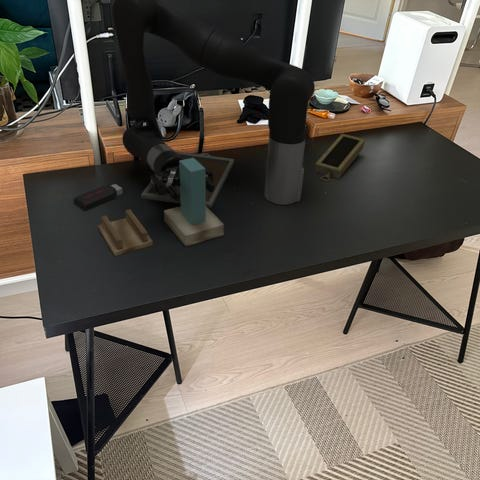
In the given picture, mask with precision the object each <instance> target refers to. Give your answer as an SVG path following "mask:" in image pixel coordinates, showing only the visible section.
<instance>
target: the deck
mask: <svg viewBox="0 0 480 480" xmlns="http://www.w3.org/2000/svg"><path fill="white" fill-rule="evenodd" d="M163 216H164V217H163V219H164V220H163V221H164V222H165V223H166V225H167V226H168V227H169V229H170V230H171V231H172V232H173V233H174V235H176V237H177V238H178V239H179V240H180V242H181V243H182V244H183V246H184V247H188V246H192V245H196V244H198V243H202V242H206V241H207V240H208V241H209V240H212V239H215V238H218V237H221V236H224V233H225V224H224V223H223V222H222V220H220V219H219V218H218V217H217V215H215V214H214V213H213V212H212V211H211V210H210V208H207V207H206V222H203V223H200V224H196V225H193V226H192V225H191V224H190V222H189V221H188V220H187V219H186V218H185V217H184V216H183V215H182V213H181V205H180V206H176V207H172V208H168V209H165V210H163Z"/></svg>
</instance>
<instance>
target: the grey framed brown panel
mask: <svg viewBox="0 0 480 480" xmlns="http://www.w3.org/2000/svg"><path fill="white" fill-rule="evenodd" d="M176 152H177V153H178V154H179V155H180V156H181V157H182V158H183V159H184V160H185V159H189V158H194V159H195V160H196V161H198V162H199V163H200V164H203V165H204V166H205V167H207V168H208V169H209V170H211V171H212V172H213V183H214V192H212V193H210V192H209V191H208V190H207V189H206V207H207V208H208V209H212V208H213V205H214V204H215V201H216V200H217V197H218V196H219V194H220V192H221V190H222V187H223V185H224V184H225V182H226V179H227V177H228V175H229V173H230V171H231V170H232V167H233V166H234V163H235V159H234V158H228V157H221V156H215V155H211V154H209V153H206V152H202V153H190V152H183V151H176ZM155 175H156V174H155ZM156 177H158V176H157V175H156ZM161 183H162V185H163V186H164V185H166V183H163V182H161ZM175 188H176V189H177V191H178V192H179V193H180V186H179V187H178V186H176V187H175ZM140 196H141V199H146V200H152V201H160V202H167V203H173V204H180V205H181V193H180V201H176V200H173V199H172V198H171V197H170V196H169V195H167V194H166V193H164V194H163V195H161V196H160V195H158V194H157V192H156V191H155V190H154V188H153V187H152V185H151V181H150V182H149V183H148V185H147V186H146V188H145V189H143V191H142V193H141V195H140Z"/></svg>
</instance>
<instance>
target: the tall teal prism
mask: <svg viewBox="0 0 480 480" xmlns="http://www.w3.org/2000/svg"><path fill="white" fill-rule="evenodd" d="M179 167H180V193H181V204H180V206H181V213H182V215H183V216H184V217H185V218H186V219H187V220H188V221H189V222H190V224H191V225H192V226H193V225H196V224H200V223H203V222H206V181H205V168H204V167H203V166H202V165H201V164H200V163H199V162H198V161H196V160H195V159H194V158H189V159H185V160H180V161H179Z"/></svg>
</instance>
